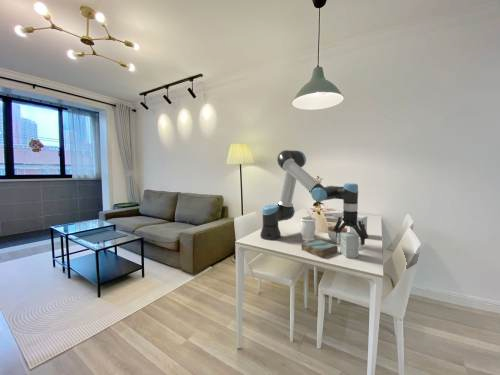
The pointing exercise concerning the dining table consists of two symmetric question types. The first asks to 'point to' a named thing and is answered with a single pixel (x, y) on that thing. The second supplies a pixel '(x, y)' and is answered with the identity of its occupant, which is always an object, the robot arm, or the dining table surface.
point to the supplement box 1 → (349, 244)
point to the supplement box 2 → (359, 218)
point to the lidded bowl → (334, 233)
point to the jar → (307, 228)
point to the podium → (319, 248)
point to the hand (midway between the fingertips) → (349, 246)
